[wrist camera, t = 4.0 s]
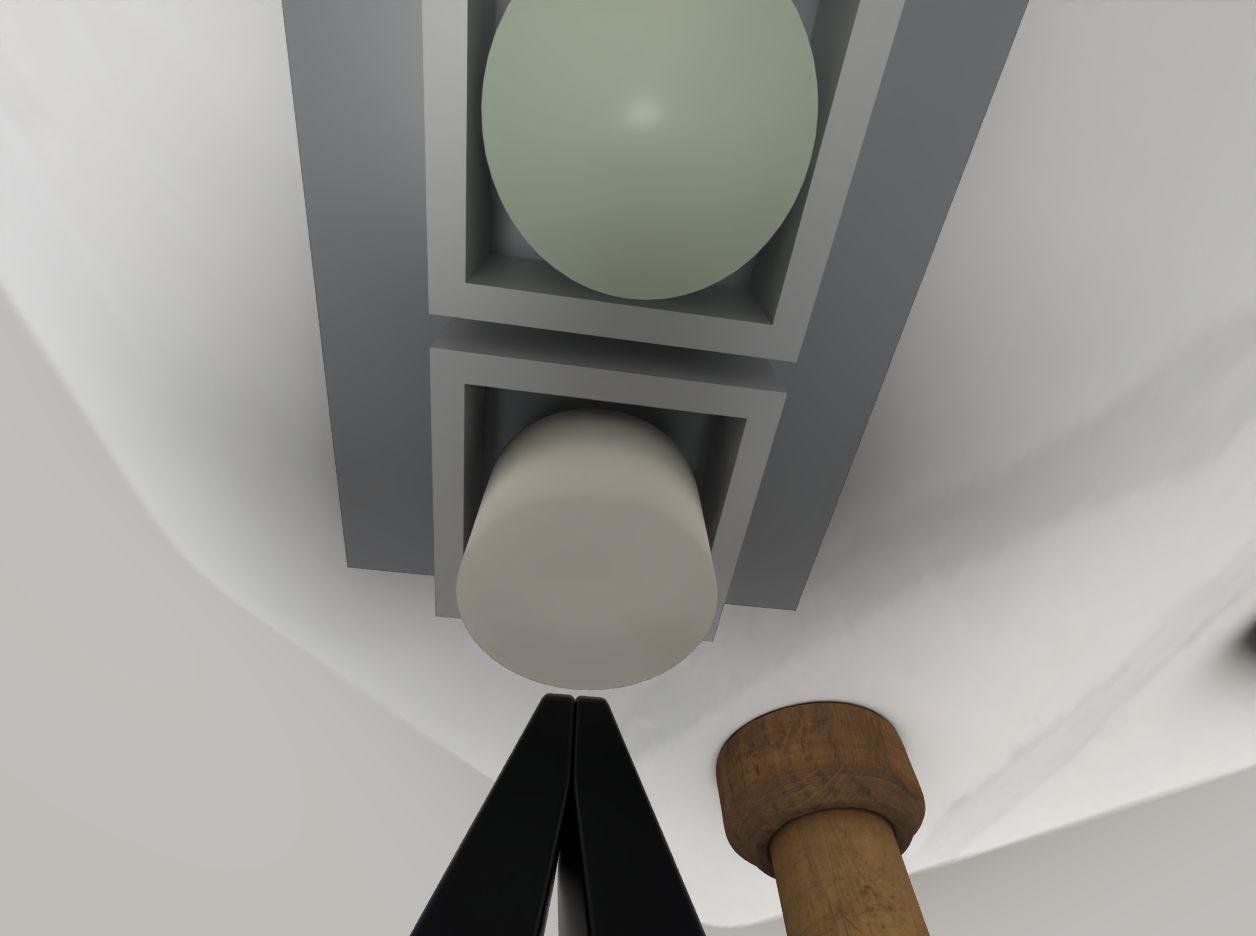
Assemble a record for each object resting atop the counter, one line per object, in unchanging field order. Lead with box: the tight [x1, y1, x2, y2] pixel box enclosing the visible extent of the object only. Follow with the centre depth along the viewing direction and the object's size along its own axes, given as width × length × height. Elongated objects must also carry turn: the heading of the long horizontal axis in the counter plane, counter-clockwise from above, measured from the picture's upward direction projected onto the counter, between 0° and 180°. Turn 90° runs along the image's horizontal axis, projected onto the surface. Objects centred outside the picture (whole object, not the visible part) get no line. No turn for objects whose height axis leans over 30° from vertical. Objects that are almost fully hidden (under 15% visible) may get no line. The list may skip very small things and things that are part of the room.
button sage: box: [481, 0, 818, 300], centre depth 9 cm, size 4×4×3 cm
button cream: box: [456, 408, 718, 690], centre depth 12 cm, size 4×4×3 cm
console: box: [282, 0, 1029, 641], centre depth 10 cm, size 12×22×3 cm, turn 172°
